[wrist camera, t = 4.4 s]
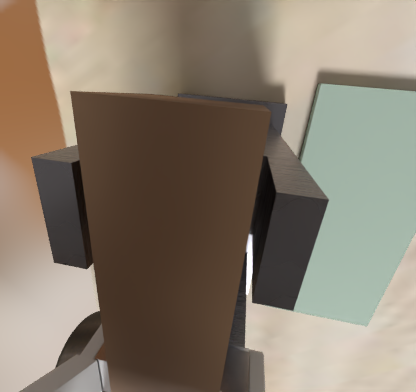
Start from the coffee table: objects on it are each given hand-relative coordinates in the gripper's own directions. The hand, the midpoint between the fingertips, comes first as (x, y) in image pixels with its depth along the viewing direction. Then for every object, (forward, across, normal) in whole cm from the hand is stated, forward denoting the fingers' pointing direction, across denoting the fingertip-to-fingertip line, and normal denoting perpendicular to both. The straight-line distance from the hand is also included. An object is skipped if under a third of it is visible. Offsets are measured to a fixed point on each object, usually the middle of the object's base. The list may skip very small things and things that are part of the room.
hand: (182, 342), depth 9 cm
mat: (+14, -11, 0) cm, 17 cm away
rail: (+1, 0, 0) cm, 1 cm away
